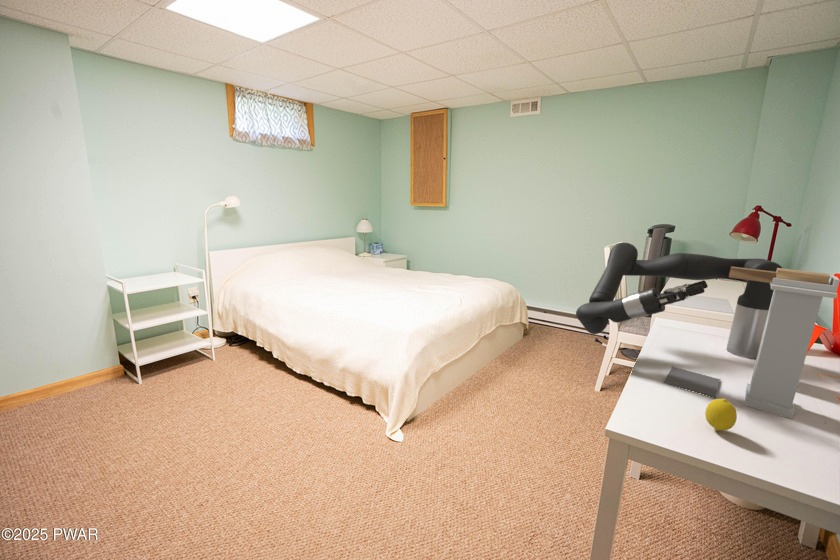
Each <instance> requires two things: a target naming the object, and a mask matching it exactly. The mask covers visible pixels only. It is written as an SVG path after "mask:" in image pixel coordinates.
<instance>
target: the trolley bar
mask: <svg viewBox="0 0 840 560" xmlns="http://www.w3.org/2000/svg"><path fill="white" fill-rule="evenodd" d="M729 277H730V278H737V279H745V280H752V281H760V282H767V283H772V280H773V278H778V279H786V280H794V281H802V282H810V283H818V284H826V285H828V283H829V281H830V278H831V275H829V273H824V272H823V273H822V272H815V271H805V270H797V269H789V268H783V269H781V268H777V271H776V272H773V271H765V270H756V269H748V268H739V267H731V269H730V273H729Z"/></svg>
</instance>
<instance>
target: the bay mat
mask: <svg viewBox="0 0 840 560" xmlns="http://www.w3.org/2000/svg"><path fill="white" fill-rule="evenodd" d="M720 380H721V379H720V378H717V377H712V376H709V375H706V374H702V373H697V372H694V371H691V370H686V369H684V368H680V367H676V366H671V367H670V369H669V371H668V373H667V375H666V377H665V378H664V381H663V384H665V383H666V385H669V386H671V387H675V386H677V387H676V388H678V387H680V388H679V389H682V388H683V390H685V389H687V390H686V391H688V390H690V391H689V392H692V391H694V392H693V393H695V392H697V393H696V394H698V393H701V394H700V395H702V394H704V395H703V396H705V395H707V397H708V396H710V397H709V398H712V397H713V398H712V399H714V400H715V399H717V393H718V390H719V385H720Z"/></svg>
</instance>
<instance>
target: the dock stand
mask: <svg viewBox="0 0 840 560" xmlns="http://www.w3.org/2000/svg"><path fill="white" fill-rule="evenodd" d="M839 284H840V279H839V278H838V277H837V276H835V275H830V279H829V283H828V285H826V284H818V283H810V282H802V281H794V280H786V279H778V278H773V280H772V283H770V286H771V289H772V290H774V291H773V295H772V299H771V303H770V307H769V311H768V315H767V319H766V323H765V327H764V331H763V335H762V339H761V343H760V347H759V351H758V355H757V358H755V362H754V363H755V364H754V366H753V367H754V368H753V372H752V375H751V379H750V382H749V383H747V384H746V389H745V397H744V406H746V407H751V408H754V409H757V410H761V411H764V412H766V413H767V412H768V413H771V414H774V415H777V416H780V417H783V418H787V419H791V420H793V419H794V415H795V408H794V407H795V406H794V400H795V396H796V393H797V391H798V390H797V389H798V386H799V382H800V378H801V375H802V371H803V367H804V364H805V361H806V357H807V354H808V350H809V347H810V343H811V339H812V335H813V333H814V329H815V326H816V322H817V318H818V315H819V311H820V308H821V305H822V302H823V297H824V298H831V299H837V297H838V293H837V291H838V288H839Z"/></svg>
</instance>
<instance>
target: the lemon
mask: <svg viewBox="0 0 840 560" xmlns="http://www.w3.org/2000/svg"><path fill="white" fill-rule="evenodd" d="M704 415H705V420H706V421H707V423H708V424H709V425H710V426H711V427H712V428H713V429H714V430H715V431H717V432H720V431H728V430H731V429H732V428H733V427H734V426H735V424H736V422H737V415H738V414H737V410H736V407H735V406H734V405H733V404H732V402H730V401H728V400H727V399H726V398H716V399H715V398H714V399H713V400H711V401H710V402H709V403H708V404H707V406H706V409H705V413H704Z"/></svg>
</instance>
